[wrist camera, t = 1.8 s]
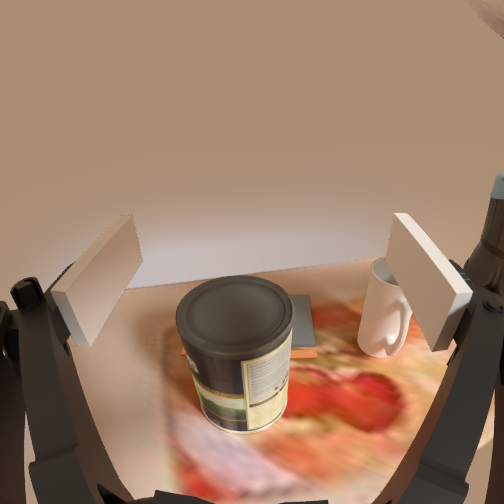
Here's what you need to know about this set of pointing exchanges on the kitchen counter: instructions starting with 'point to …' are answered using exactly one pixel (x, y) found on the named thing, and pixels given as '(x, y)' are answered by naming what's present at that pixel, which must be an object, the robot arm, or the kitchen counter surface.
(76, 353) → the kitchen counter surface
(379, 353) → the mug
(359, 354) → the kitchen counter surface
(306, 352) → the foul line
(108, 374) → the kitchen counter surface
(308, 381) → the kitchen counter surface
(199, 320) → the coffee can
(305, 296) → the mat
